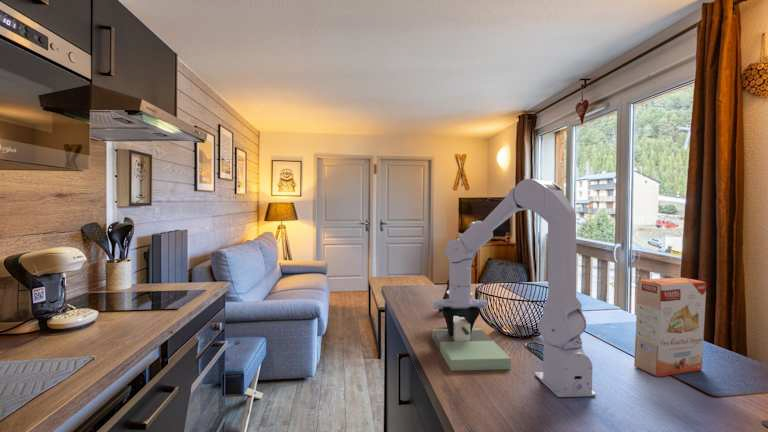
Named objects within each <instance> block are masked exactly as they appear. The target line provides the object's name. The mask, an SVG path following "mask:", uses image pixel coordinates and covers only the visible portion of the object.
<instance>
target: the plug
mask: <svg viewBox="0 0 768 432" xmlns="http://www.w3.org/2000/svg"><path fill="white" fill-rule="evenodd" d="M450 337H451V338H452V340H453V341H454V342H462V341H470V323H469V322H468V321H467V320H466V319H465V318H464V317H459V316H454V317H453V336H450Z"/></svg>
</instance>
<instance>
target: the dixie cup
mask: <svg viewBox="0 0 768 432" xmlns="http://www.w3.org/2000/svg"><path fill="white" fill-rule="evenodd" d="M446 293H447V296H448V299H449V290H448V291H447V292H446ZM472 295H473V292H472V291H471V297H472ZM451 309H452V312H453V313H454V316H459V317H464V318H465V319H466V312H465V308H451Z"/></svg>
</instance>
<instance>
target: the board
mask: <svg viewBox="0 0 768 432" xmlns="http://www.w3.org/2000/svg"><path fill="white" fill-rule="evenodd" d="M432 339H433V342H434V343H435V345H436V346H437V348H438V350H439V351H440V354H441V355H442V358H443V359H444V361H445V362H446V364H447V366H448V368H449V370H450V371H451V372H453V371H487V370H490V371H491V370H492V371H493V370H511V368H512V367H511V366H512V365H511V363H512V361H511V359H512V358H511V357H510V356H509V355H508V354H507V353H506V352H505V351H504V350H503V349H502V348H501V347H500V346H499V345H498V343H496V342H495V341H494V340H493V339H492V338H491V337H490V336H489V335H488V334H487V333H486V332H485V331H484V330H483V329H482V328H481V327H477V328H476V327H475V328H472V332H471V336H470V341H462V342H454V341H453V340H452V338H451V337H450V336H449V334H448V328H432Z"/></svg>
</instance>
